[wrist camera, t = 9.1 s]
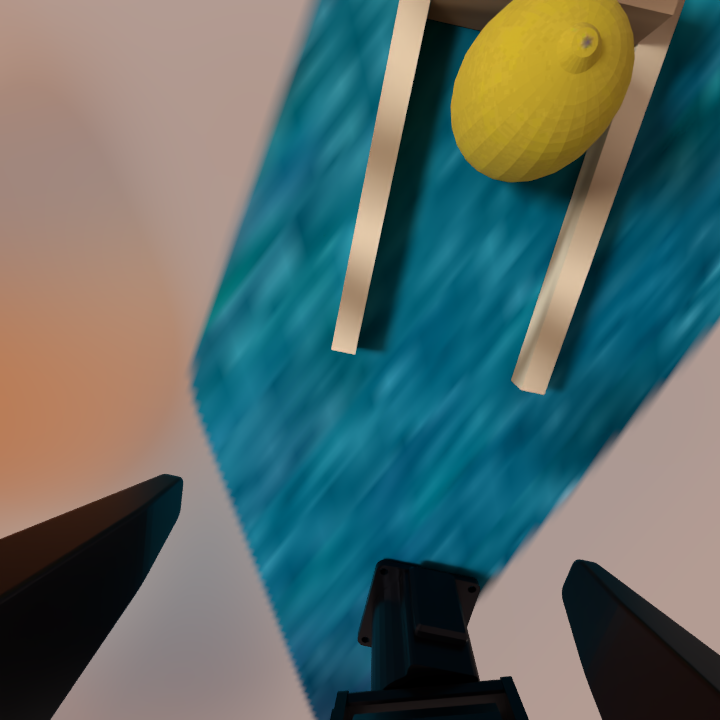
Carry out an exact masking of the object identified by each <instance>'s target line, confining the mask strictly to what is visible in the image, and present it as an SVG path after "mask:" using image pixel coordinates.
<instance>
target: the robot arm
mask: <svg viewBox="0 0 720 720" xmlns="http://www.w3.org/2000/svg"><path fill="white" fill-rule="evenodd" d="M182 491H183V480H182V478H181V477H178V476H174V475H169V474H162V475H159V476H157V477H154V478H152V479H149V480H147V481H144V482H142V483H139V484H137V485H134V486H132V487H129V488H127V489H124V490H122V491H119V492H117V493H115V494H112V495H109V496H107V497H104V498H102V499H99V500H97V501H94V502H92V503H89V504H87V505H85V506H82V507H79V508H77V509H74V510H72V511H69V512H67V513H64V514H62V515H59V516H57V517H54V518H52V519H49V520H47V521H45V522H42V523H39V524H37V525H34V526H32V527H29V528H27V529H24V530H22V531H19V532H17V533H14V534H12V535H9V536H7V537H4V538H2V539H0V720H50V719H51V718H52V716H53V715H54V714H55V712H56V711H57V709H58V708H59V706H60V705H61V703H62V702H63V700H64V699H65V697H66V696H67V694H68V693H69V691H70V690H71V689H72V687H73V686H74V684H75V683H76V681H77V680H78V678H79V677H80V675H81V674H82V672H83V671H84V669H85V668H86V666H87V665H88V664H89V662H90V660H91V659H92V657H93V656H94V655H95V653H96V652H97V650H98V649H99V647H100V646H101V644H102V643H103V641H104V640H105V639H106V637H107V635H108V634H109V633H110V631H111V630H112V628H113V627H114V625H115V624H116V622H117V621H118V619H119V618H120V616H121V615H122V614H123V612H124V610H125V609H126V608H127V606H128V605H129V603H130V602H131V600H132V599H133V597H134V596H135V594H136V593H137V591H138V590H139V588H140V586H141V585H142V583H143V582H144V580H145V578H146V576H147V574H148V573H149V571H150V569H151V567H152V565H153V563H154V562H155V560H156V558H157V556H158V554H159V552H160V550H161V549H162V547H163V545H164V543H165V541H166V539H167V538H168V536H169V534H170V532H171V530H172V528H173V526H174V525H175V523H176V521H177V519H178V516H179V513H180V509H181V499H182ZM383 568H385V569H387V570H382V569H383ZM470 586H473V587H472V588H469V587H470ZM479 592H480V586H479V583H478V581H477V580H476V579H474V578H471V577H466V576H461V575H456V574H451V573H446V572H441V571H436V570H431V569H426V568H421V567H417V566H412V565H407V564H402V563H397V562H392V561H387V560H382V561H379V562H378V563H377V565H376V568H375V571H374V575H373V579H372V583H371V586H370V590H369V594H368V598H367V601H366V605H365V609H364V613H363V616H362V620H361V624H360V627H359V631H358V642H359V643H360V644H361V645H363V646H368V647H372V659H371V691H364V692H353V693H349V691H338V693H337V698H336V702H335V707H334V709H332V713H331V718H330V720H529V719H528V716H527V714H526V712H525V709H524V707H523V704H522V702H521V699H520V697H519V694H518V692H517V689H516V687H515V684H514V682H513V679H512V677H511V676H509V677H500V680H489V681H480V679H479V675H478V671H477V667H476V663H475V659H474V655H473V651H472V647H471V642H470V638H469V634H468V630H467V625H468V623H469V620H470V617H471V614H472V612H473V609H474V606H475V603H476V601H477V598H478V595H479ZM562 599H563V602H564V606H565V609H566V613H567V616H568V620H569V623H570V626H571V630H572V633H573V637H574V640H575V643H576V647H577V650H578V654H579V657H580V660H581V663H582V666H583V669H584V673H585V676H586V678H587V681H588V684H589V687H590V689H591V692H592V695H593V697H594V700H595V702H596V705H597V707H598V710H599V712H600V715H601V718H602V720H720V655H719V654H717V653H716V652H715V651H713V650H712V649H711V648H709V647H708V646H707V645H705V644H704V643H703V642H701V641H700V640H699V639H697V638H696V637H695V636H693V635H692V634H690V633H689V632H688V631H686V630H685V629H684V628H683V627H681V626H679V624H677V623H676V622H674V621H673V620H672V619H670V618H669V617H668V616H666V615H665V614H664V613H662V612H661V611H660V610H658V609H657V608H656V607H654V606H653V605H652V604H650V603H649V602H648V601H646V600H645V599H644V598H642V597H641V596H640V595H638V594H637V593H636V592H634V591H633V590H631V589H630V588H629V587H628V586H626V585H625V584H624V583H622V582H621V581H620V580H618V579H617V578H616V577H614V576H613V575H612V574H610V573H609V572H608V571H606V570H605V569H604V568H602V567H601V566H600V565H598V564H597V563H594V562H590V561H585V560H576V561H575V562H574V563H573V564H572V567H571V569H570V571H569V574H568V576H567V578H566V580H565V583H564V585H563V588H562Z"/></svg>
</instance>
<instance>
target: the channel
mask: <svg viewBox="0 0 720 720" xmlns="http://www.w3.org/2000/svg"><path fill="white" fill-rule="evenodd" d="M511 1H513V0H431V5H430V10H429V14H428V9H429V4H430V0H400V1H399V6H398V11H397V16H396V21H395V26H394V31H393V36H392V42H391V47H390V52H389V57H388V62H387V67H386V72H385V77H384V83H383V88H382V93H381V98H380V103H379V108H378V113H377V118H376V124H375V129H374V134H373V139H372V144H371V149H370V154H369V159H368V164H367V170H366V175H365V180H364V185H363V190H362V195H361V200H360V205H359V211H358V216H357V221H356V226H355V231H354V236H353V241H352V246H351V252H350V257H349V262H348V267H347V272H346V277H345V282H344V287H343V293H342V298H341V303H340V308H339V313H338V318H337V323H336V328H335V333H334V339H333V344H332V349H331V350H335V351H340V352H345V353H349V354H354V355H355V352H356V348H357V343H358V338H359V333H360V329H361V324H362V319H363V315H364V310H365V305H366V301H367V296H368V291H369V286H370V282H371V277H372V272H373V268H374V263H375V258H376V254H377V249H378V244H379V239H380V235H381V230H382V225H383V221H384V216H385V211H386V207H387V202H388V197H389V192H390V188H391V183H392V178H393V174H394V169H395V164H396V160H397V155H398V150H399V145H400V141H401V136H402V131H403V127H404V122H405V117H406V113H407V108H408V103H409V98H410V94H411V89H412V84H413V80H414V75H415V70H416V66H417V61H418V56H419V51H420V47H421V42H422V37H423V33H424V28H425V23H426V19H427V14H428V19H431V20H436V21H440V22H444V23H449V24H453V25H457V26H462V27H466V28H471V29H475V30H479V31H482V29H483V28H484V27H485V26H486V25H487V24H488V22H489V21H491V20H492V19H493V18H494V17H495V16H496V15H497V14H498V13H499V12H500V11H501V10H502V9H503V8H505V7H506V6H507V5H508V4H509V3H510V2H511ZM617 1H618V2H619V4H620V5H621V7H622V8H623V10H624V11H625V13H626V14H627V16H628V19H629V22H630V26H631V29H632V32H633V37H634V53H635V60H634V66H633V72H632V78H631V82H630V85H629V87H628V90H627V92H626V95H625V97H624V100H623V103H622V105H621V107H620V109H619V110H618V112H617V113H616V115H615V116H614V118H613V119H612V121H611V123H610V124H609V126H608V127H607V129H606V130H605V132H604V133H603V134H602V135H601V136H600V137H599V138H598V139H597V140H596V141H595V142H594V143H593V144H592V145H591V146H590V147H589V148H588V149H587V152H586V155H585V158H584V161H583V164H582V167H581V170H580V173H579V176H578V179H577V182H576V185H575V188H574V191H573V194H572V197H571V200H570V203H569V206H568V209H567V212H566V215H565V218H564V222H563V225H562V228H561V231H560V234H559V237H558V240H557V243H556V246H555V249H554V252H553V255H552V258H551V261H550V264H549V267H548V270H547V273H546V276H545V279H544V282H543V285H542V288H541V291H540V294H539V297H538V300H537V303H536V307H535V310H534V313H533V316H532V319H531V322H530V325H529V328H528V331H527V334H526V337H525V340H524V343H523V346H522V349H521V352H520V355H519V358H518V361H517V364H516V367H515V370H514V373H513V376H512V379H511V381H512V382H513V383H514V384H515V385H516V386H517V387H518V388H519V389H521V390H524V391H528V392H533V393H538V394H543V395H544V394H545V391H546V389H547V386H548V383H549V380H550V377H551V375H552V372H553V369H554V366H555V363H556V361H557V358H558V355H559V352H560V349H561V346H562V344H563V341H564V338H565V335H566V332H567V330H568V327H569V324H570V321H571V318H572V316H573V313H574V310H575V307H576V304H577V302H578V299H579V296H580V293H581V290H582V288H583V285H584V282H585V279H586V276H587V274H588V271H589V268H590V265H591V262H592V260H593V257H594V254H595V251H596V248H597V246H598V243H599V240H600V237H601V234H602V232H603V229H604V226H605V223H606V220H607V218H608V215H609V212H610V209H611V206H612V204H613V201H614V198H615V195H616V192H617V190H618V187H619V184H620V181H621V178H622V176H623V173H624V170H625V167H626V164H627V162H628V159H629V156H630V153H631V150H632V148H633V145H634V142H635V139H636V136H637V134H638V131H639V128H640V125H641V122H642V120H643V117H644V114H645V111H646V108H647V106H648V103H649V100H650V97H651V94H652V92H653V89H654V86H655V83H656V80H657V78H658V75H659V72H660V69H661V66H662V64H663V61H664V58H665V55H666V52H667V50H668V47H669V44H670V41H671V38H672V36H673V33H674V30H675V27H676V24H677V22H678V19H679V16H680V13H681V10H682V8H683V5H684V2H685V0H617Z"/></svg>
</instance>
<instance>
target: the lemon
mask: <svg viewBox="0 0 720 720" xmlns="http://www.w3.org/2000/svg"><path fill="white" fill-rule="evenodd" d="M634 60H635V53H634V37H633V32H632V29H631V26H630V22H629V19H628V16H627V14H626V13H625V11H624V10H623V8H622V7H621V5H620V4H619V2H618V1H617V0H513V1H511V2H510V3H509V4H508V5H507V6H506V7H505V8H503V9H502V10H501V11H500V12H499V13H498V14H497V15H496V16H495V17H494V18H493V19H492V20H491V21H489V22H488V24H487V25H486V26H485V27H484V28H483V29H482V31H481V32H480V34H479V35H478V37H477V38H476V40H475V41H474V42H473V44H472V45H471V47H470V48H469V50H468V51H467V53H466V55H465V57H464V60H463V62H462V65H461V67H460V70H459V72H458V75H457V77H456V80H455V84H454V89H453V95H452V101H451V121H452V130H453V133H454V136H455V140H456V143H457V146H458V148H459V149H460V151H461V153H462V154H463V156H464V158H465V159H466V160H467V161H468V162H469V163H470V164H471V165H472V166H473V167H474V168H475V169H476V170H477V171H479V172H480V173H482V174H484V175H486V176H488V177H490V178H492V179H496V180H501V181H506V182H523V181H532V180H535V179H538V178H541V177H544V176H547V175H550V174H553V173H555V172H557V171H559V170H560V169H562V168H563V167H565V166H567V165H568V164H570V163H571V162H573V161H575V160H576V159H577V158H579V157H580V156H581V155H582V154H583V153H584V152H585V151H586V150H587V149H588V148H589V147H590V146H591V145H592V144H593V143H594V142H595V141H596V140H597V139H598V138H599V137H600V136H601V135H602V134H603V133H604V132H605V130H606V129H607V127H608V126H609V124H610V123H611V121H612V119H613V118H614V116H615V115H616V113H617V112H618V110H619V109H620V107H621V105H622V103H623V100H624V97H625V95H626V92H627V90H628V87H629V85H630V82H631V78H632V72H633V66H634Z"/></svg>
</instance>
